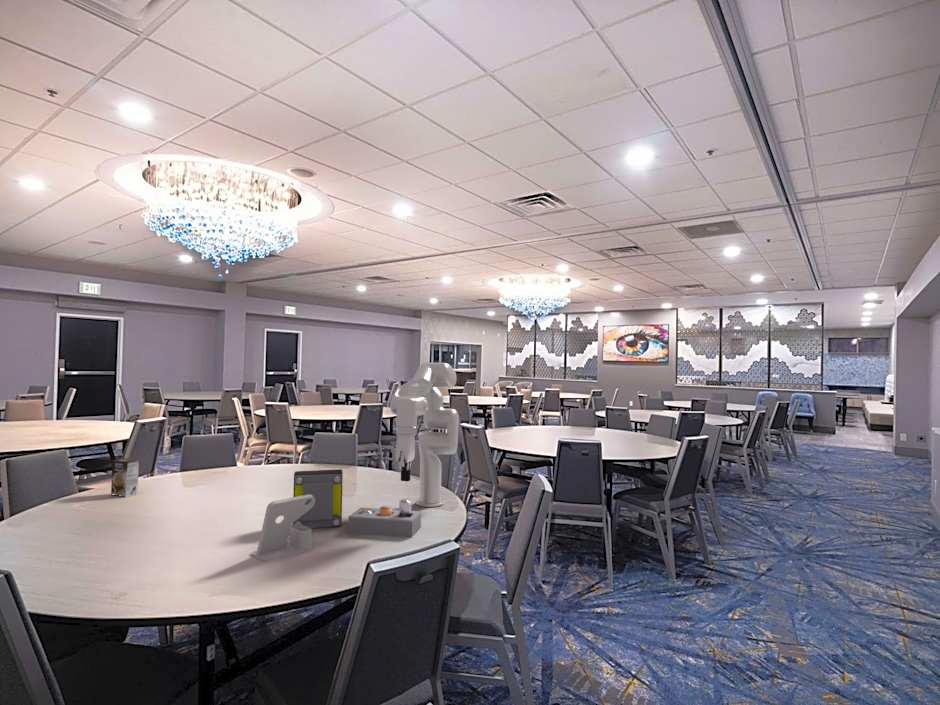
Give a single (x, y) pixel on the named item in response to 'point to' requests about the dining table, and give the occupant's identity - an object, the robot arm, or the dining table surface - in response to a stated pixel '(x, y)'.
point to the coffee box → (124, 477)
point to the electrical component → (320, 497)
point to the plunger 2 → (405, 508)
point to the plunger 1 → (366, 512)
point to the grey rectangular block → (384, 523)
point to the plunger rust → (385, 511)
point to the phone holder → (284, 529)
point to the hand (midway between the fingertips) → (405, 480)
